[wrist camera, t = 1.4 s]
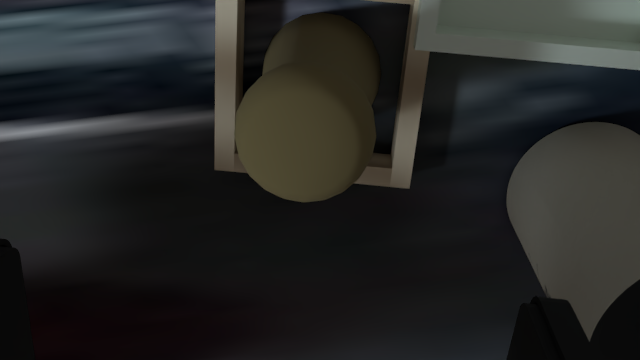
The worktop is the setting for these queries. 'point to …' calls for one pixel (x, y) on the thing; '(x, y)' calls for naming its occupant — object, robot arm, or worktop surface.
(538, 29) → the tray
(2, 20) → the worktop surface
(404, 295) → the worktop surface
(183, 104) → the worktop surface
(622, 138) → the travel mug
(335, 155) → the brown rounded lump
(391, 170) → the socket
